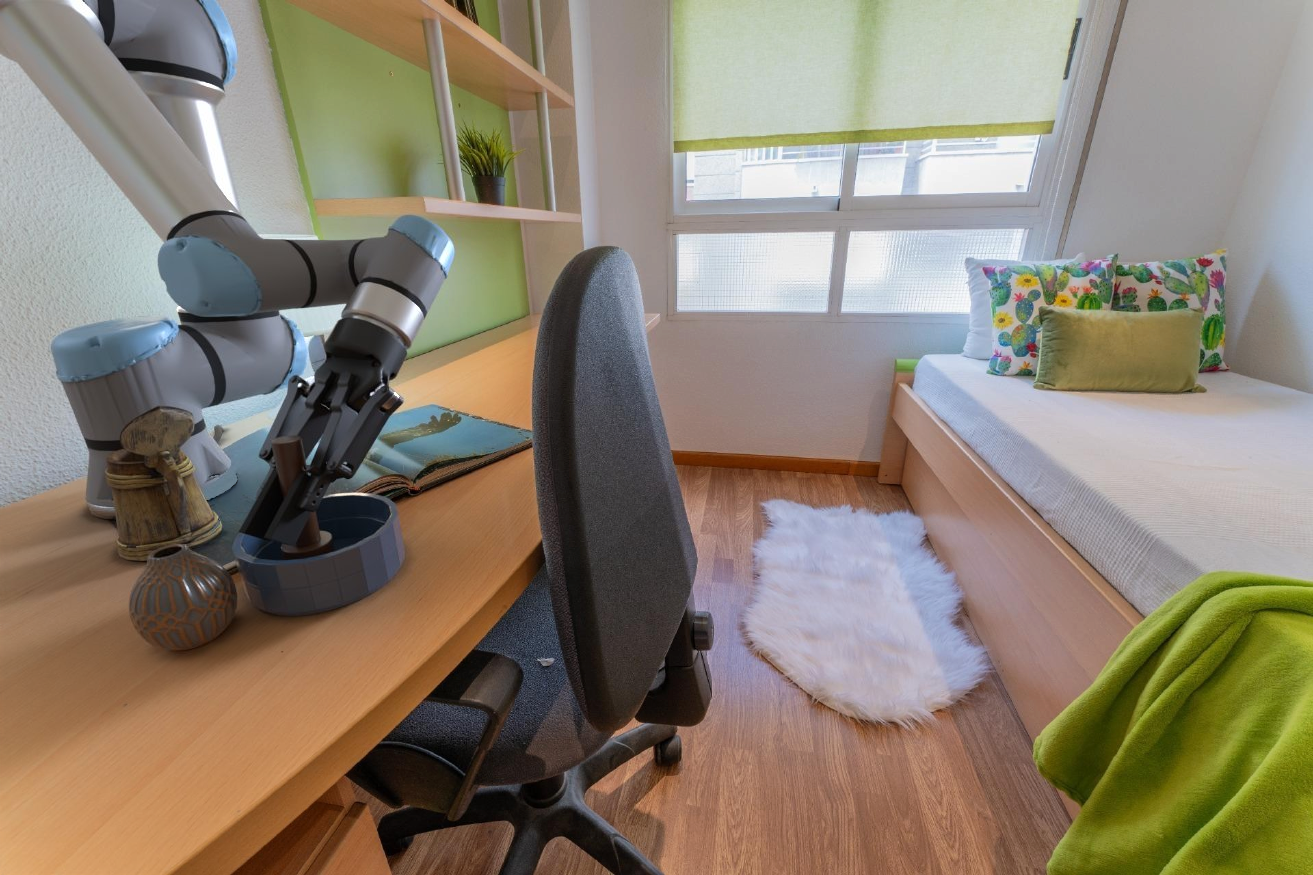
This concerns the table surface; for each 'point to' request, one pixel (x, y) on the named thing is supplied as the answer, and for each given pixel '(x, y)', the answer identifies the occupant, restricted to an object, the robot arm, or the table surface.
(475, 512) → the table surface
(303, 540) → the pestle
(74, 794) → the table surface
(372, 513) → the bowl
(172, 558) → the vase
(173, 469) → the wooden mug
